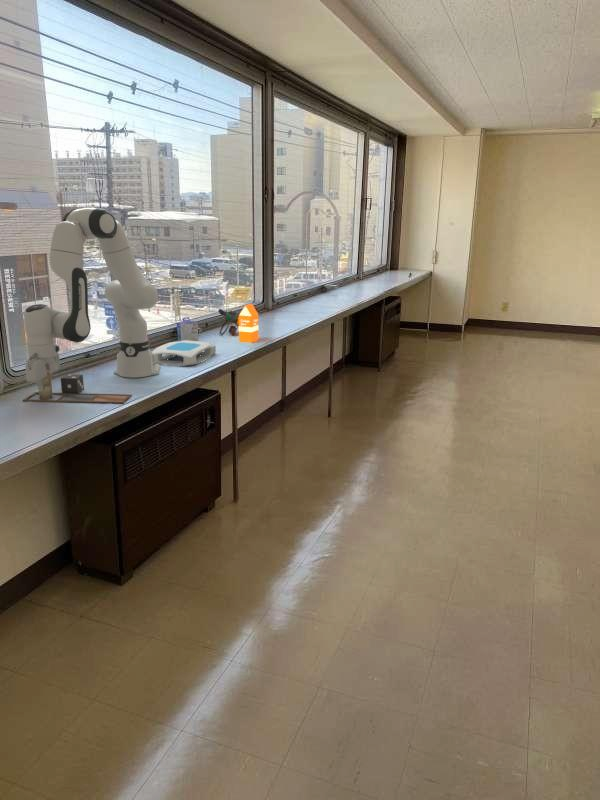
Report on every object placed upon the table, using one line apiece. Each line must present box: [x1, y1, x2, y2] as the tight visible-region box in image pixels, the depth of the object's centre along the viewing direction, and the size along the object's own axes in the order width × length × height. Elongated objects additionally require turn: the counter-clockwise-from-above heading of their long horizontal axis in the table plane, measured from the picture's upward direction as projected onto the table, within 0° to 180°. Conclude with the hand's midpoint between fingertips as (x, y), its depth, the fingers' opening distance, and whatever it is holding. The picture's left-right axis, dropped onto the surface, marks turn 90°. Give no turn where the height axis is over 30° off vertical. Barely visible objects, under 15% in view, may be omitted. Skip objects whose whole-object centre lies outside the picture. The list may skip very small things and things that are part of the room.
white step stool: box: [151, 340, 216, 367], centre depth 279 cm, size 21×28×6 cm
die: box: [60, 373, 85, 393], centre depth 224 cm, size 6×6×6 cm
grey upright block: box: [176, 316, 199, 342], centre depth 307 cm, size 10×6×14 cm, turn 124°
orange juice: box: [238, 303, 259, 344], centre depth 320 cm, size 8×9×20 cm
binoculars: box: [217, 308, 239, 337], centre depth 337 cm, size 14×14×15 cm
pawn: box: [38, 363, 54, 400], centre depth 215 cm, size 5×5×14 cm
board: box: [22, 391, 133, 405], centre depth 217 cm, size 10×36×1 cm, turn 89°
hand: (45, 388), depth 216 cm, fingers closed on pawn, 4 cm apart
